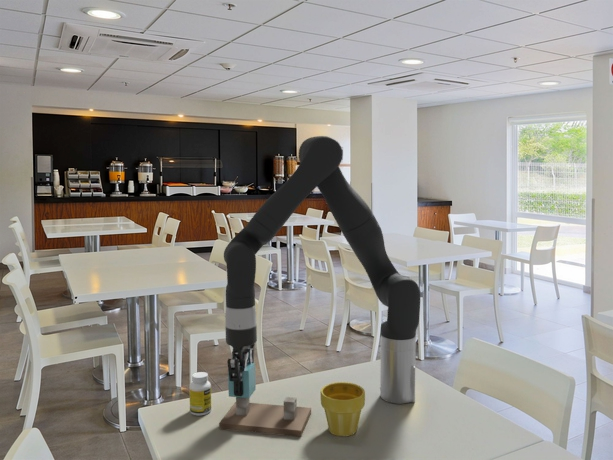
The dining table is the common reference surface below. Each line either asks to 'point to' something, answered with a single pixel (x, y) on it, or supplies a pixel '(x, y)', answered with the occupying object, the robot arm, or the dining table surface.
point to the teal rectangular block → (245, 382)
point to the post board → (266, 417)
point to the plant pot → (342, 407)
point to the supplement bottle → (200, 394)
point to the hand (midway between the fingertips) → (242, 390)
